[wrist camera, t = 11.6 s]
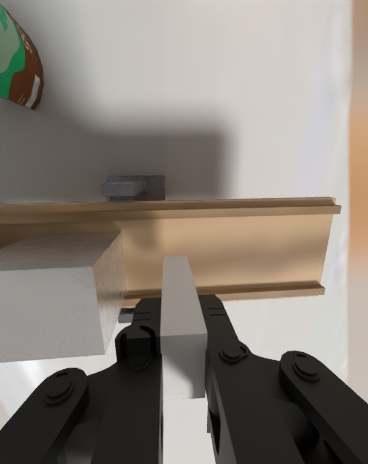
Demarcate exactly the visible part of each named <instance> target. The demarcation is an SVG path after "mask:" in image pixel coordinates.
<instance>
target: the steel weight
mask: <svg viewBox="0 0 368 464" xmlns="http://www.w3.org/2000/svg"><path fill="white" fill-rule="evenodd" d="M127 290H128V289H127V279H126V269H125V259H124V250H123V240H122V231H109V232H79V233H50V234H33V235H31V236H29V237H27V238H24V239H22V240H20V241H17V242H15V243H13V244H11V245H8V246H6V247H4V248H2V249H0V363H2V362H14V361H27V360H40V359H53V358H66V357H79V356H91V355H104V354H106V351H107V348H108V345H109V342H110V339H111V336H112V334H113V331H114V328H115V325H116V322H117V319H118V316H119V313H120V310H121V307H122V305H123V302H124V299H125V296H126V293H127Z"/></svg>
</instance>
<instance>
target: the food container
mask: <svg viewBox="0 0 368 464" xmlns="http://www.w3.org/2000/svg"><path fill="white" fill-rule="evenodd" d="M43 86H44V81H43V67H42V64H41V61H40V58H39V55H38V52H37V50H36V48H35V46H34V45H33V43H32V41H31V40H30V38H29V37H28V35H27V34H26V33H25V32H24V31H23V29H22V28H21V27H20V26H19V25H18V24H17V22H16V21H15V20H14V19H13V18H12V17H11V15H10V14H9V13H8V12H7V11H6V9H5V8H4V7H3V6H2V5H1V4H0V96H1V97H3V98H5V99H8V100H10V101H12V102H15V103H17V104H20V105H22V106H24V107H27V108H29V109H31V110H35V108H36V106H37V105H38V103H39V102H40V99H41V94H42V90H43Z"/></svg>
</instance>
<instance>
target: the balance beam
mask: <svg viewBox="0 0 368 464" xmlns="http://www.w3.org/2000/svg"><path fill="white" fill-rule="evenodd" d="M335 202H336V198H332V197H306V198H261V199H216V200H171V201H134V200H133V199H117V200H111V202H81V203H37V204H0V249H2V248H4V247H6V246H8V245H11V244H13V243H15V242H17V241H20V240H22V239H24V238H27V237H29V236H31V235H33V234H50V233H79V232H109V231H122V240H123V250H124V259H125V269H126V279H127V289H128V290H127V293H126V296H125V299H124V302H123V305H122V307H121V308H134V307H135V306H136V304H137V303H138V302H139V301H140V300H141V299H142V298H159V297H162V277H163V256H187V257H188V260H189V264H190V268H191V272H192V276H193V280H194V283H195V287H196V291H197V295H207V294H215V295H216V296H217V297H218V298H219V299H220V300H221V301H222V302H224V301H240V300H257V299H274V298H290V297H307V296H318V295H324V292H325V288H324V287H323V286H321V285H320V282H321V277H322V271H323V266H324V261H325V255H326V250H327V245H328V239H329V234H330V229H331V223H332V218H333V214H340V211H341V206H340V205H335Z"/></svg>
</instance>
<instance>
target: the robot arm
mask: <svg viewBox="0 0 368 464" xmlns="http://www.w3.org/2000/svg"><path fill="white" fill-rule="evenodd" d="M115 347H116V356H117V362H116V363H115V364H113V365H112V366H110V367H109V368H107V369H104V370H102V371H100V372H97V373H94V374H91V375H88V376H87V375H86V374H85V372H84V371H83V370H81V369H78V368H66V369H63V370H60V371H57V372H56V373H54V374H52V375H51V376H49V377H47V378H46V379H45V380H44V381H43V382H42V383H41V384H40V385H39V386H38V387H37V388H36V389H35V390H34V391H33V393H32V394H31V395H30V396H29V397H28V398H27V400H26V401H25V402H24V403H23V404H22V405H21V407H20V408H19V409H18V410H17V411H16V412H15V414H14V415H13V416H12V417H11V418H10V420H9V421H8V422H7V423H6V424H5V425H4V427H3V428H2V429H1V430H0V464H163V401H172V400H183V399H194V398H205V389H206V394H207V400H208V416H207V433H210V432H211V438H212V444H213V450H214V456H215V462H216V464H368V404H367V403H366V402H365V401H364V400H363V399H362V398H361V397H359V396H358V395H357V394H356V393H355V392H354V391H353V390H352V389H351V388H350V387H348V386H347V385H346V384H345V383H344V382H343V381H342V380H341V379H339V378H338V377H337V376H336V375H335V374H334V373H333V372H332V371H331V370H329V369H328V368H327V367H326V366H325V365H324V364H323V363H322V362H320V361H319V360H317V359H316V358H315V357H313V356H311V355H309V354H306V353H304V352H300V351H287V352H286V353H284V354H283V355H282V357H281V360H280V361H277V360H272V359H267V358H263V357H260V356H257V355H255V354H253V353H251V351H250V350H249V348H248V347H247V346H246V345H245V344H243V343H242V342H241V341H239V340H238V337H237V335H236V333H235V331H234V328H233V326H232V324H231V321H230V319H229V317H228V315H227V312H226V310H225V309H224V306H223V303H222V301H221V300H220V299H219V298H218V297H217V296H216V295H215V294H207V295H197V291H196V287H195V283H194V280H193V276H192V272H191V268H190V264H189V260H188V257H187V256H163V277H162V297H159V298H142V299H141V300H140V301H139V302H138V303H137V304H136V306H135V311H134V315H133V319H132V323H131V325H129V326H127V327H125V328H124V329H123V330H121V331H120V332H119V333H118V335H117V336H116V338H115Z"/></svg>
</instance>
